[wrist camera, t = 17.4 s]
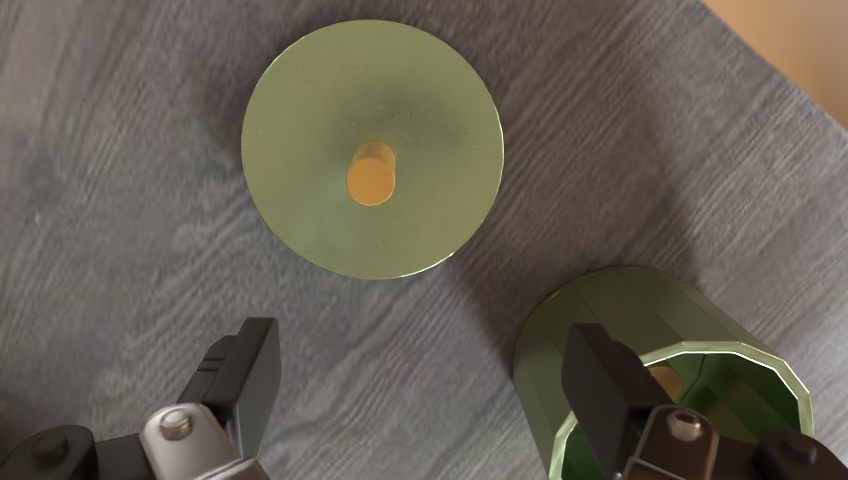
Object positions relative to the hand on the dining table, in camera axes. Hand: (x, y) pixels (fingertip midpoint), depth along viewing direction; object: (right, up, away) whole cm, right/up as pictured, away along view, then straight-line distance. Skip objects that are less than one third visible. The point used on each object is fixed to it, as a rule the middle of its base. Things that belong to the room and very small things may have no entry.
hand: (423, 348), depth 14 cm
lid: (-3, +8, +16) cm, 18 cm away
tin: (+13, -5, +23) cm, 27 cm away
